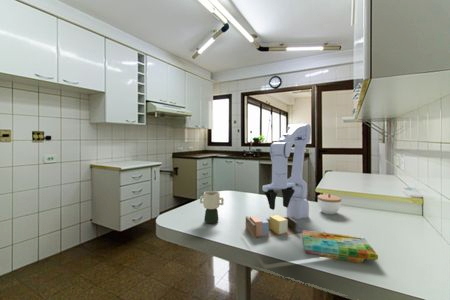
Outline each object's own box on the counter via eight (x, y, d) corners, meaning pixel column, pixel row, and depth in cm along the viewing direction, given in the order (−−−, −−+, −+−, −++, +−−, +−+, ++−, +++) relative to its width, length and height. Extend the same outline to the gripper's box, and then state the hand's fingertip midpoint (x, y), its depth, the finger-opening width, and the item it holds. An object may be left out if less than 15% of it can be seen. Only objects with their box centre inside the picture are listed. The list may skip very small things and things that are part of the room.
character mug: (225, 220, 98) (225, 191, 97) (221, 226, 91) (221, 195, 90) (202, 217, 101) (202, 190, 100) (196, 223, 94) (196, 193, 93)
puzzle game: (302, 228, 79) (364, 235, 73) (301, 240, 79) (364, 248, 74) (304, 242, 68) (378, 252, 62) (303, 257, 68) (377, 268, 62)
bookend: (294, 225, 90) (295, 216, 90) (303, 232, 84) (304, 221, 84) (287, 226, 89) (287, 216, 89) (295, 232, 83) (295, 222, 83)
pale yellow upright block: (277, 226, 89) (277, 214, 89) (287, 232, 83) (287, 219, 83) (269, 228, 87) (269, 216, 87) (279, 234, 82) (279, 221, 81)
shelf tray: (292, 225, 92) (292, 212, 92) (305, 234, 83) (305, 220, 83) (245, 230, 87) (245, 216, 87) (253, 240, 79) (253, 225, 78)
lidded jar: (312, 210, 113) (313, 192, 112) (329, 208, 116) (329, 190, 116) (328, 217, 103) (328, 197, 102) (345, 214, 106) (346, 195, 106)
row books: (262, 228, 87) (262, 215, 86) (268, 235, 81) (269, 220, 81) (249, 230, 86) (249, 216, 85) (255, 236, 80) (255, 222, 79)
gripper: (287, 170, 91) (286, 202, 91) (258, 172, 84) (257, 207, 85) (299, 173, 84) (298, 207, 85) (269, 175, 78) (268, 212, 79)
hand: (278, 207), depth 85 cm, fingers open, 6 cm apart
